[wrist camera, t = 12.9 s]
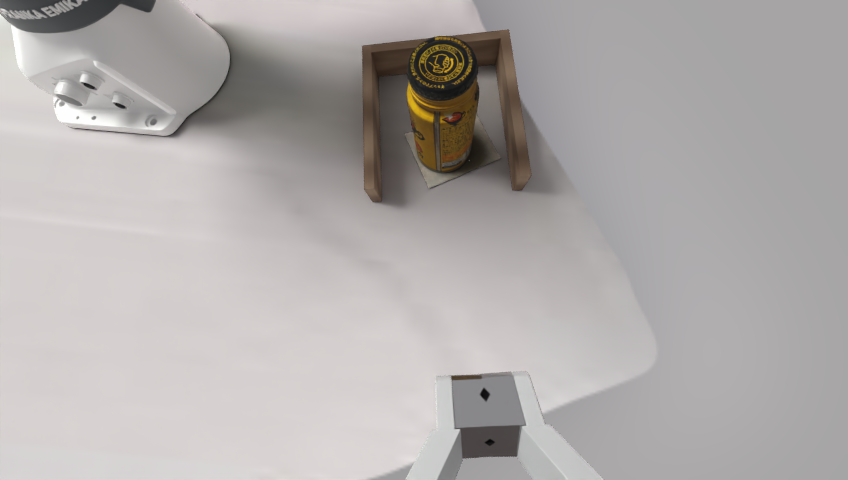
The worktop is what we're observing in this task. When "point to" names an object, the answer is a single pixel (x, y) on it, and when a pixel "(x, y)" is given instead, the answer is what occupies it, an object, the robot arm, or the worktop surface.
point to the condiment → (445, 110)
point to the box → (395, 62)
